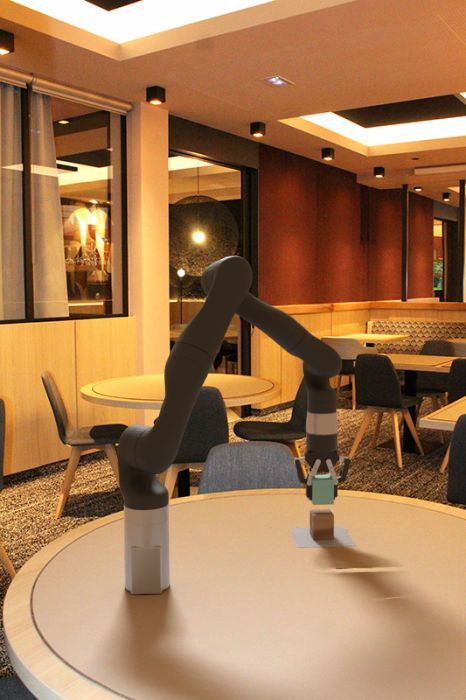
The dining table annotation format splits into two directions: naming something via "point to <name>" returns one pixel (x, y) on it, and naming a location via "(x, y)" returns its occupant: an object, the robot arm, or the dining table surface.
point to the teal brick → (322, 490)
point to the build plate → (305, 540)
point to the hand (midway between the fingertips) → (321, 499)
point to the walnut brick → (322, 524)
